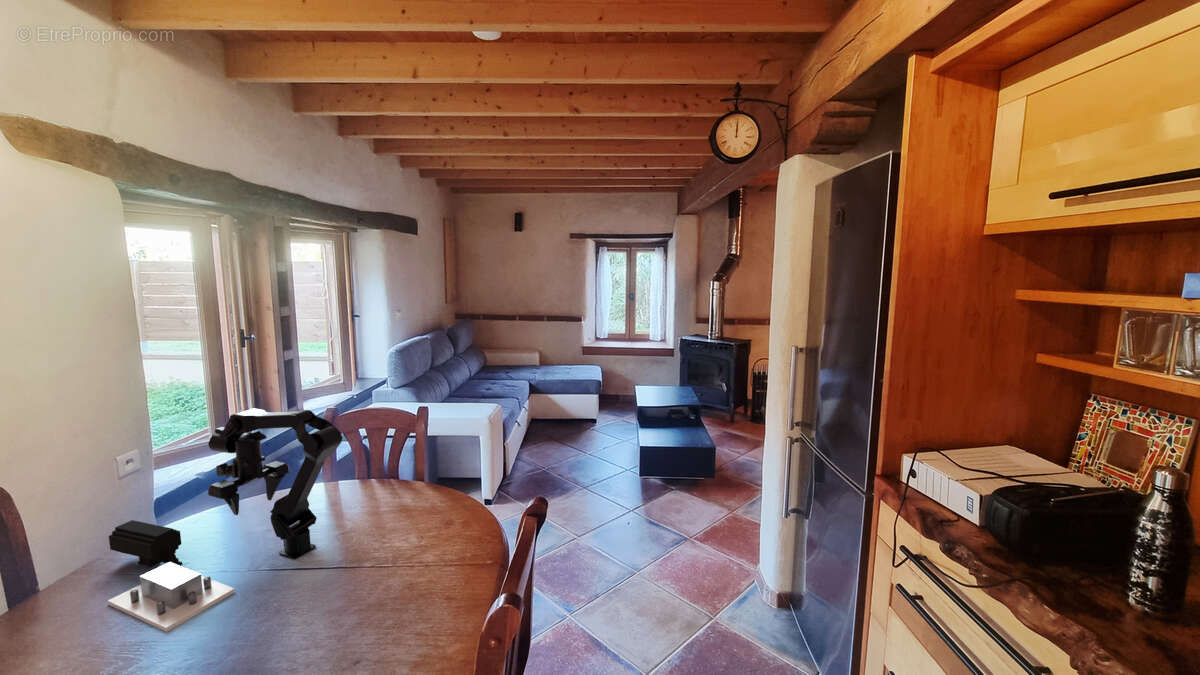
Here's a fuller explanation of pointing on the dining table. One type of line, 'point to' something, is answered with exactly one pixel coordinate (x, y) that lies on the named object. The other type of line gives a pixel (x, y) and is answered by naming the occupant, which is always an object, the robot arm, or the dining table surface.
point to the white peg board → (165, 615)
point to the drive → (170, 584)
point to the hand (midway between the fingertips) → (253, 507)
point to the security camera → (146, 542)
